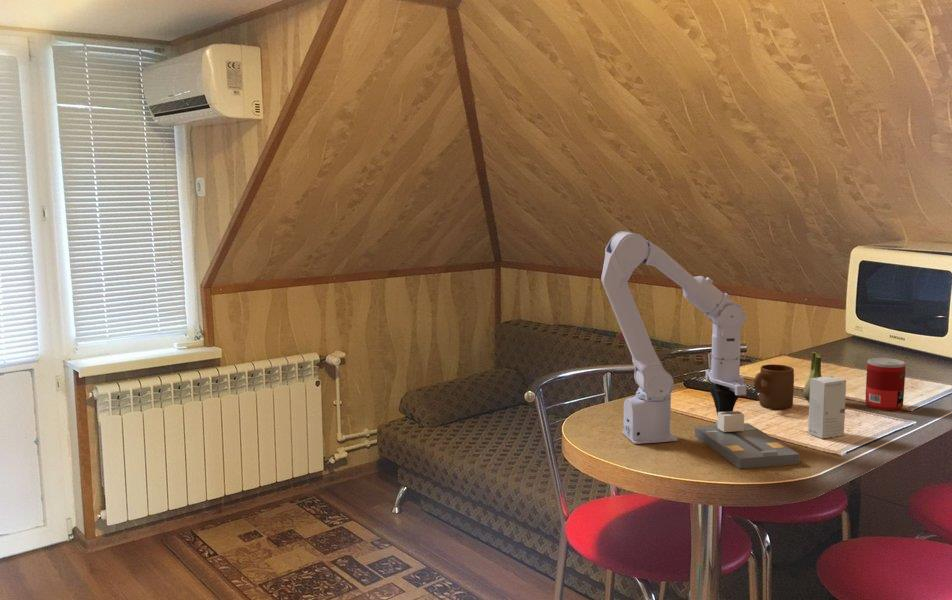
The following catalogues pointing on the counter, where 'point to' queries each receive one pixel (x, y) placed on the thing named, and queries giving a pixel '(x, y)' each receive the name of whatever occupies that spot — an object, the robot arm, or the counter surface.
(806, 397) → the fennel bulb
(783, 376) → the mug
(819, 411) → the skincare box
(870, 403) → the canned food
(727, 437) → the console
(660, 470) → the counter surface
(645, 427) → the robot arm
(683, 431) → the counter surface
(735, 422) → the fader knob
